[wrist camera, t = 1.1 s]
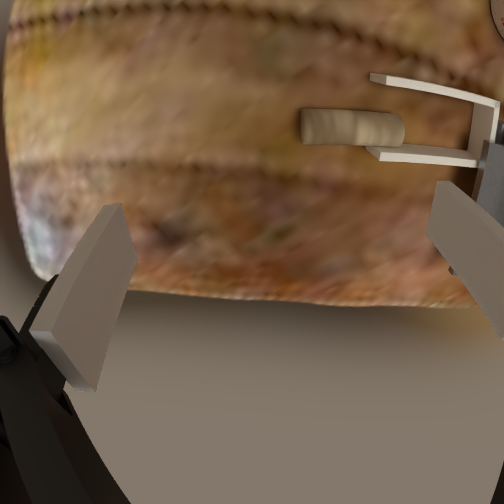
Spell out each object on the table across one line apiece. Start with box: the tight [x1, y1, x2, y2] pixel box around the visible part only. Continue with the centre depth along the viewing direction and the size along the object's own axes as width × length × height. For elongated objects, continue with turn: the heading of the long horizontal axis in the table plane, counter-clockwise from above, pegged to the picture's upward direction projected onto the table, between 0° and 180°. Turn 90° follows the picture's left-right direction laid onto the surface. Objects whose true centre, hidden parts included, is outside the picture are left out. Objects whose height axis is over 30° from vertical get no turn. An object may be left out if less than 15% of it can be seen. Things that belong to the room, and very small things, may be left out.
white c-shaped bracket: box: [365, 73, 504, 168], centre depth 25 cm, size 8×17×4 cm, turn 92°
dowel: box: [300, 108, 405, 147], centre depth 26 cm, size 9×3×3 cm
